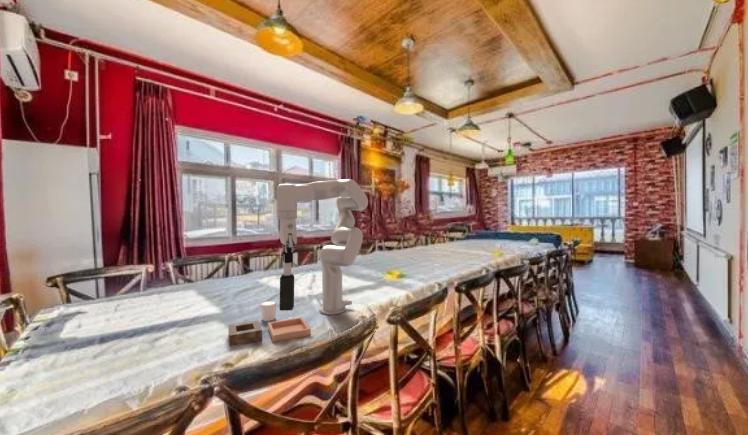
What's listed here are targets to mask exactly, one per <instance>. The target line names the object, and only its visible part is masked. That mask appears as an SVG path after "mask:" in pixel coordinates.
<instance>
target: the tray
mask: <svg viewBox="0 0 748 435" xmlns="http://www.w3.org/2000/svg"><path fill="white" fill-rule="evenodd" d="M267 330H268V333H269V335H270V338H271V340H272V343H277V342H282V341H287V340H293V339H297V338H303V337H307V336H311V333H312V332H311V327H310V326H309V324H308V323H307V322H306V321H305V319H304V318H303V317H301V316H300V317H296V318H295V317H294V318H289V319H282V320H277V321H271V322H270V321H269V322H267Z"/></svg>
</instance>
